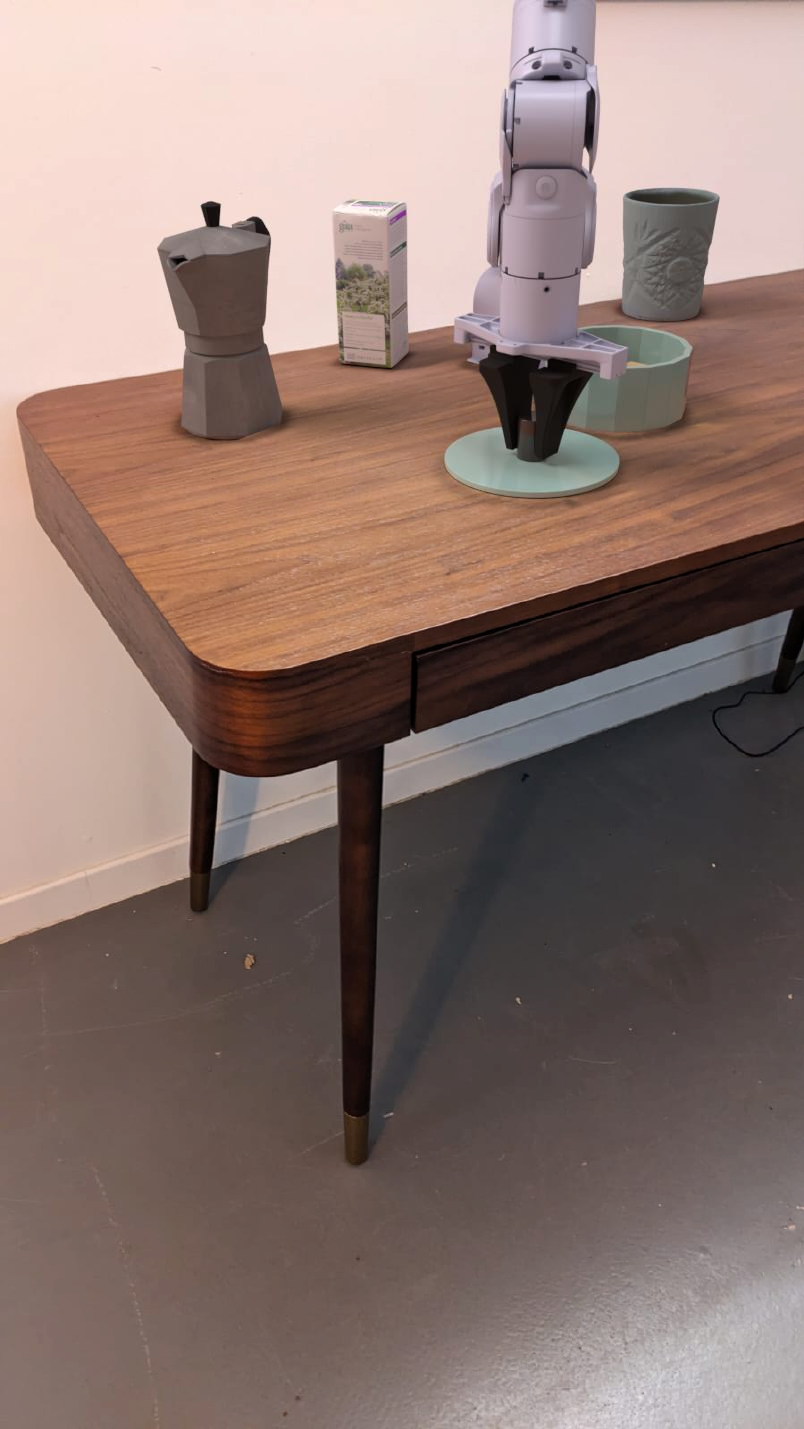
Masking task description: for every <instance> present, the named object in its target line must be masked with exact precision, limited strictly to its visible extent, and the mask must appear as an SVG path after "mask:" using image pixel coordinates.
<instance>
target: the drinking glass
mask: <svg viewBox="0 0 804 1429" xmlns="http://www.w3.org/2000/svg"><path fill="white" fill-rule="evenodd" d="M720 199H721V198H720V194H718V193H716V192H713V191H709V190H706V189H700V188H689V187H686V188H685V187H652V188H642V189H635V190H632V191H631V190H630V191H628V192H625V193H624V194H623V197H622V241H623V257H622V267H623V272H622V288H621V309H622V312H623V313H624V314H625V315H626V316H628V317H631V318H634V319H638V320H643V321H651V322H679V321H685V320H689V319H690V320H691V319H693V318H695V317H697V316H698V314H699V312H700V311H701V305H702V301H703V294H704V290H705V289H704V288H705V275H706V271H707V270H706V269H707V267H708V264H709V254H710V248H711V246H712V244H713V237H714V231H715V225H716V220H717V215H718V214H717V213H718V209H719V204H720Z"/></svg>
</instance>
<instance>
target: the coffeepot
mask: <svg viewBox="0 0 804 1429" xmlns="http://www.w3.org/2000/svg"><path fill="white" fill-rule="evenodd" d="M221 208H222V203H219V202H216V201H213V200H209V201H206V202H203V203H201V204H200V210H201V213H202V215H203V220H204V222H205V223H204V224H205V225H204V226H201V227H198V228H194V229H190V230H187V231H183V232H179V233H177V234H173V235H170V236H167V237H164V238H163V239H162V241H161V242H160V243H159V245H158V246H157V247H156V249H157V253H158V258H159V261H160V264H161V268H162V272H163V276H164V279H165V284H166V287H167V290H168V294H169V298H170V301H171V305H172V306H171V307H172V309H173V313H174V316H175V320H176V323H177V327H178V329H179V330H181V331H183V336H184V343H185V344H184V347H185V349H184V353H183V366H182V367H183V369H182V370H183V371H182V392H181V393H182V396H181V423H180V425H181V427H182V428H183V429H184V430H185V431H187V432H189V433H190V434H192V435H194V436H196V437H201V438H205V439H210V440H240V439H241V440H242V439H243V438H244V439H245V438H247V437H249V436H252V435H254V434H257V433H259V432H262V431H265V430H267V429H271V428H273V427H275V426H278V425H281V423H282V416H283V412H284V409H283V405H282V401H281V396H280V393H279V389H278V385H277V380H276V377H275V372H274V367H273V364H272V360H271V356H270V352H269V347H268V344H266V343H265V336H264V326H265V324H266V318H267V302H268V284H269V267H270V256H271V246H272V236H271V232H270V231H269V229H268V227H267V226H266V224H265V222H264V220H263V219H262V218H261V217H259V216H254V215H253V216H250V217H248V218H247V219H246V220H238V221H237V222H235V223H233V224H231V226H226V225H221V224H220V223H221V222H220V221H221Z"/></svg>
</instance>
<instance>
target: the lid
mask: <svg viewBox="0 0 804 1429" xmlns="http://www.w3.org/2000/svg"><path fill="white" fill-rule="evenodd" d="M535 432H536V412H535V410H531V411H526V412H522V413H520V414H519V415H518V430H517V448H516V449H514V450H510V449H507V448H506V445H505V440H504V435H503V430H502V426H498V427H497V426H496V427H492V428H487V429H486V428H485V429H482V430H478V431H474V432H472V433H469V434H467V435H464V436H462V437H460V438H458V439H456V440H455V441H453V442H452V443H451V444H450V445H449V446H448V447H447V448H446V450H445V452H444V455H443V456H444V459H443V460H444V461H443V462H444V467H445V469H446V471H447V472H448V474H449V475H450V476H451V477H452V478H453V479H455V480H457V481H458V482H459V483H461V484H463V485H465V486H468V487H470V488H473V489H475V490H478V491H482V492H485V493H488V494H494V495H497V496H504V497H512V498H523V499H543V498H544V499H550V498H560V497H568V496H574V495H578V494H584V493H587V492H590V491H593V490H596V489H598V488H600V487H603V486H605V485H606V484H608V483H609V482H611V481H612V480H613V479H614V478H615V477H616V475H617V474H618V472H619V469H620V463H621V462H620V456H619V453H618V451H616V449H615V448H614V447H613V446H611V445H610V444H609V443H607V442H606V441H604V440H602V439H600V438H598V437H596V436H593V435H591V434H589V433H585V432H582V431H578V430H573V429H569V428H565V430H564V433H563V436H562V439H561V443H560V446H559V450H558V453H556V454H554V455H552V456H550V457H548V458H546V459H540V458H537V457H536V451H535Z"/></svg>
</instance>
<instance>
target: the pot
mask: <svg viewBox="0 0 804 1429" xmlns="http://www.w3.org/2000/svg"><path fill="white" fill-rule="evenodd" d="M577 329H580V330H582V331H584V332H587V333H589V334H592V335H594V336H596V337H599V338H601V339H603V340H606V341H608V342H611V343H614V344H617V345H621V346H625V347H628V357H627V363H628V362H630V361H632V362H636V363H641V364H645V365H642V366H627V368H626V374H624V375H622V376H620V377H618V378H615V379H613V380H607V379H603V378H600V374H597V373H594V374H593V375H592V377H591V378H590V380H589V381H588V383H587V384H586V386H585V387H584V389H583V391H582V392H581V394H580V396H579V398H578V400H577V401H576V403H575V405H574V408H573V410H572V412H571V414H570V417H569V419H568V422H567V424H566V425H569V426H572V427H576V428H580V429H583V430H588V431H596V432H597V431H598V432H606V433H607V432H608V433H635V432H638V433H639V432H646V431H651V430H657V429H662V428H666V427H669V426H670V425H672V424H674V423H675V422H678V421H680V420H681V419H682V418H683V415H684V413H685V410H686V404H687V395H688V388H689V382H690V372H691V368H692V367H691V366H692V359H693V351H694V350H693V349H694V347H693V346H692V345H691V344H690V343H689V342H688V340H687V339H686V338H683V337H681V336H679V335H676V334H674V333H672V332H669V331H666V330H661V329H656V328H652V327H646V326H635V325H623V324H607V325H604V324H603V325H588V326H582V327H581V326H580V327H577ZM545 367H547V361H545Z"/></svg>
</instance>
